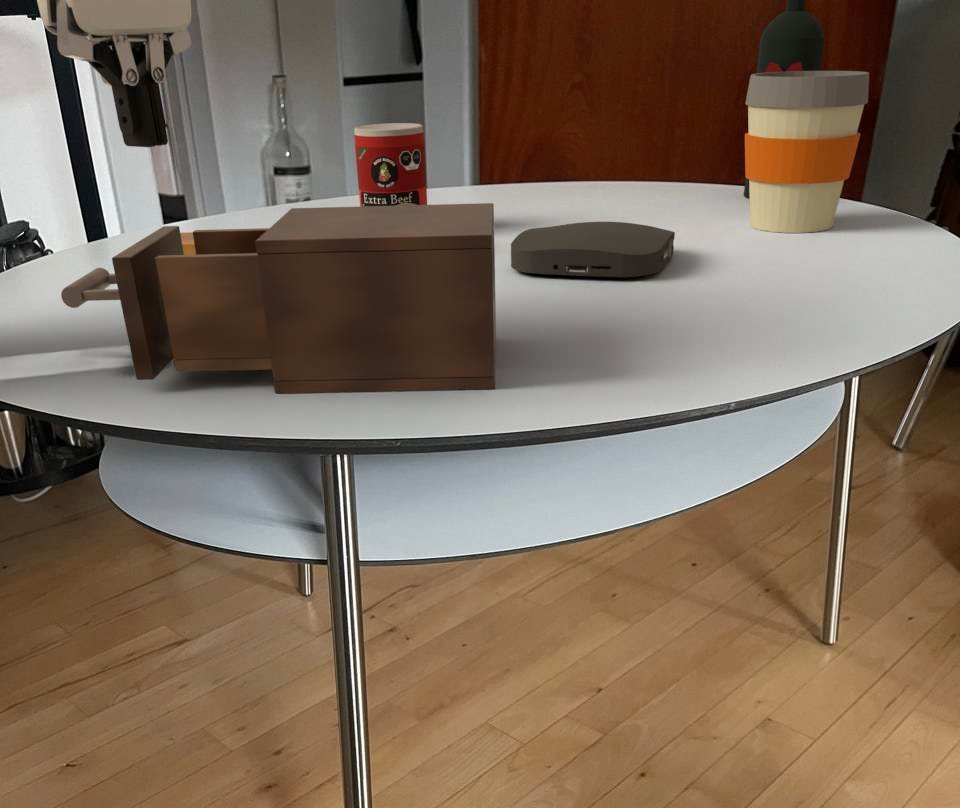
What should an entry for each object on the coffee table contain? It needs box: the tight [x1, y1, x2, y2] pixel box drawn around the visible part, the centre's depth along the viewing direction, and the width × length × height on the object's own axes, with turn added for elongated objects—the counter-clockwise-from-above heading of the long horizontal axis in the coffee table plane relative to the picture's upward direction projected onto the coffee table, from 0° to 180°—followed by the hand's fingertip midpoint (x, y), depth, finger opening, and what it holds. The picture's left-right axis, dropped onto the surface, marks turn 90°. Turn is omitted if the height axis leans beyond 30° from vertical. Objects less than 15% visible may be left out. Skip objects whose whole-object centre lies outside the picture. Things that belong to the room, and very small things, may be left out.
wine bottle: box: [743, 0, 826, 199], centre depth 125 cm, size 8×10×30 cm
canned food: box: [353, 122, 428, 207], centre depth 116 cm, size 8×8×11 cm
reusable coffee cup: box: [744, 70, 870, 234], centre depth 111 cm, size 13×13×15 cm
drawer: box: [60, 225, 272, 381], centre depth 71 cm, size 18×11×8 cm, turn 89°
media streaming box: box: [510, 221, 676, 279], centre depth 100 cm, size 15×15×3 cm
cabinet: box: [255, 202, 497, 394], centre depth 71 cm, size 15×13×10 cm
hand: (146, 144), depth 76 cm, fingers closed
